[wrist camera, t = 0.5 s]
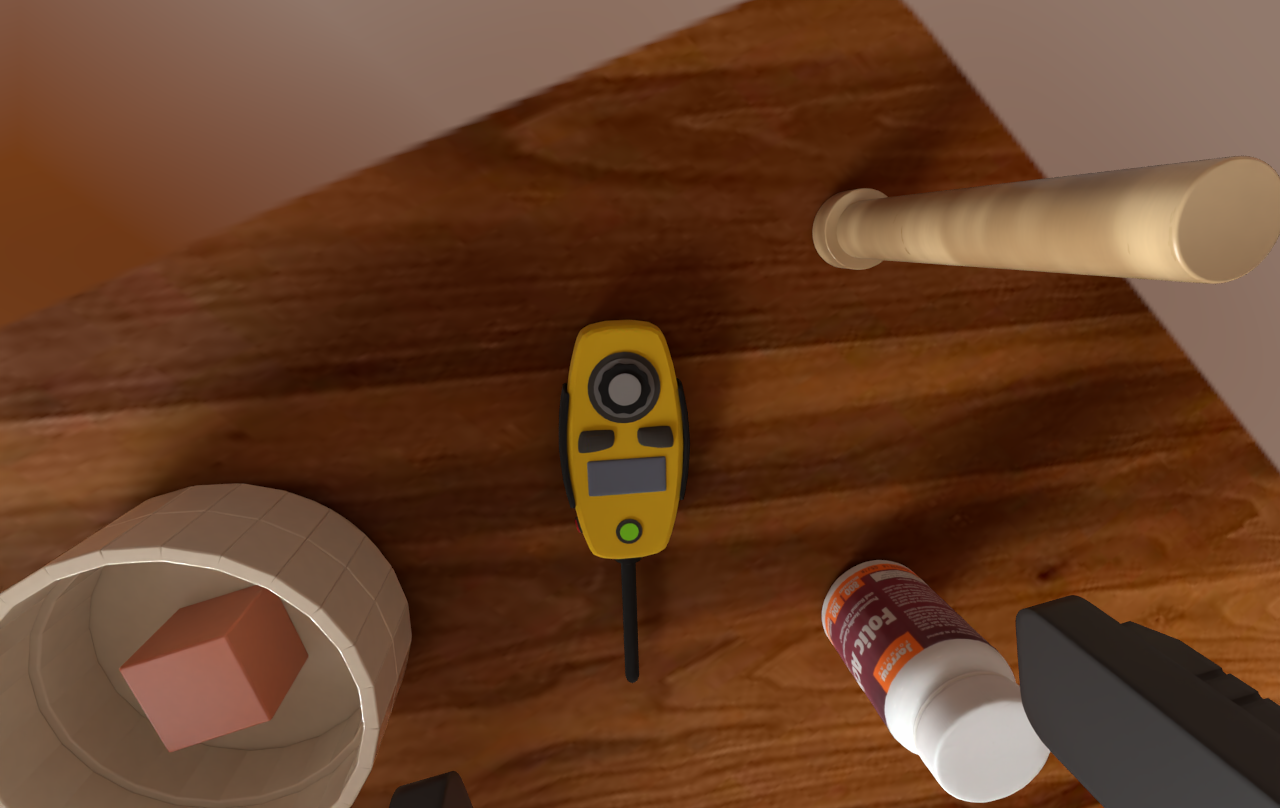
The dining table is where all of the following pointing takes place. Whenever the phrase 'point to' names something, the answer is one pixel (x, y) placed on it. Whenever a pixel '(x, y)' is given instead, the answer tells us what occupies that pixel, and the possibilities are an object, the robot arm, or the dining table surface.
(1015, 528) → the dining table surface
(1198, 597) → the dining table surface
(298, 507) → the bowl
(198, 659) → the cube
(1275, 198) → the muddler
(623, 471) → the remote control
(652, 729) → the dining table surface
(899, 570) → the pill bottle
